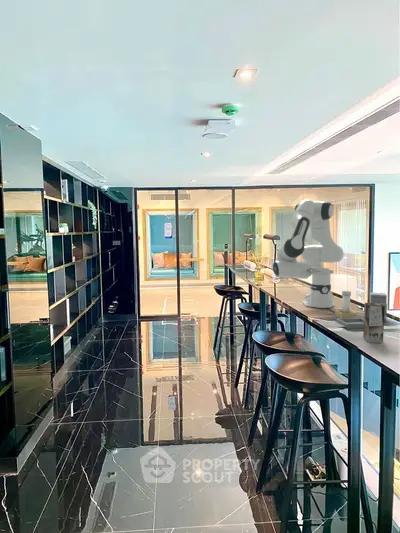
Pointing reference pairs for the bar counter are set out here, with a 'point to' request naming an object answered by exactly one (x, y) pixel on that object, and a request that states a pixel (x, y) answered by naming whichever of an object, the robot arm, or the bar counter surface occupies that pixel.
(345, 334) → the bar counter surface
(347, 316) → the block
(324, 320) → the bar counter surface
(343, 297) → the cylinder
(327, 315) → the bar counter surface
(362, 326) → the parts tray
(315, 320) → the bar counter surface
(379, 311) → the coffee box
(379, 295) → the circuit breaker
